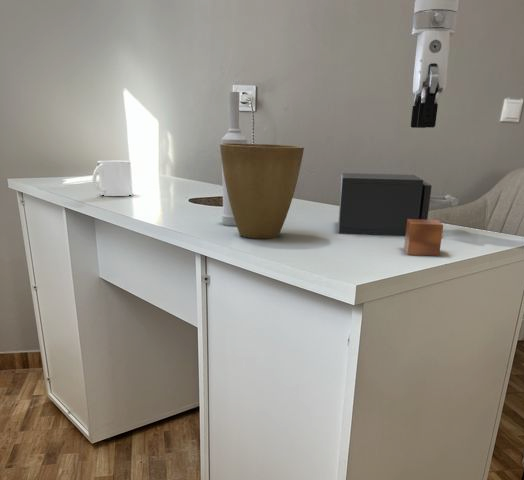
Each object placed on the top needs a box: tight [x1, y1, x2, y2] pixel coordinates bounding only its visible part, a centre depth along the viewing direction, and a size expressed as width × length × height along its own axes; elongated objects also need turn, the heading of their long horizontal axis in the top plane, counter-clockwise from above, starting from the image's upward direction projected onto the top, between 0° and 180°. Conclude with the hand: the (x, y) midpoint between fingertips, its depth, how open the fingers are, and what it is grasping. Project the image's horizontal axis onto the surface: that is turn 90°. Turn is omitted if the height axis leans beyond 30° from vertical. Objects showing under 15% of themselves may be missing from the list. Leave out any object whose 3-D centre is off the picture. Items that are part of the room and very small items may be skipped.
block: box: [403, 219, 444, 257], centre depth 91 cm, size 5×5×5 cm
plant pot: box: [219, 142, 305, 239], centre depth 101 cm, size 15×15×16 cm
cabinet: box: [337, 172, 424, 237], centre depth 111 cm, size 15×13×10 cm
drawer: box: [419, 180, 459, 220], centre depth 110 cm, size 19×12×8 cm, turn 83°
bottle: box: [220, 91, 248, 227], centre depth 111 cm, size 5×5×25 cm
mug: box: [91, 159, 134, 197], centre depth 158 cm, size 12×9×9 cm
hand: (422, 127), depth 107 cm, fingers open, 9 cm apart
